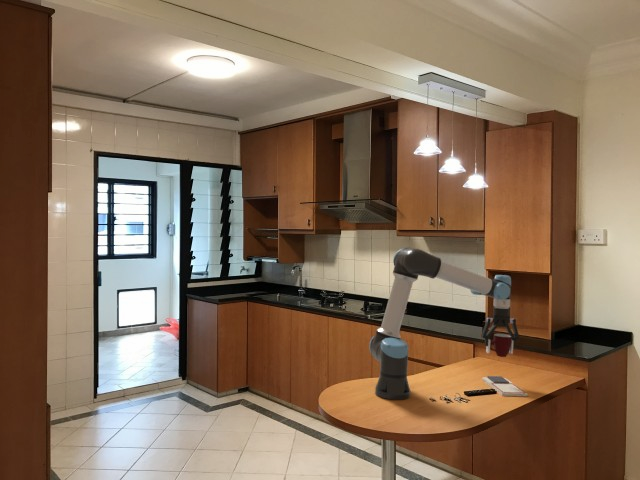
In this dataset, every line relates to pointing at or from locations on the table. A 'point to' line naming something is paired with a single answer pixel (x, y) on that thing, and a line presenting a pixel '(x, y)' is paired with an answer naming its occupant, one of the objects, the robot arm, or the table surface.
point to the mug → (501, 344)
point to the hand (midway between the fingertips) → (499, 353)
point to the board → (504, 386)
